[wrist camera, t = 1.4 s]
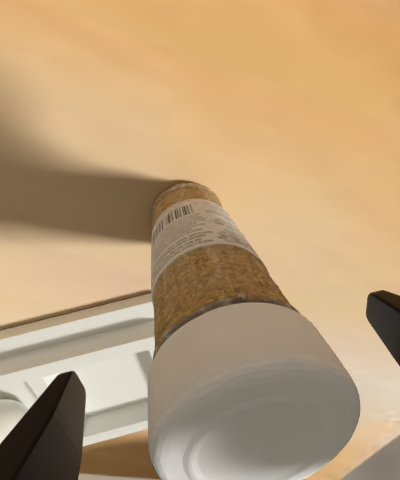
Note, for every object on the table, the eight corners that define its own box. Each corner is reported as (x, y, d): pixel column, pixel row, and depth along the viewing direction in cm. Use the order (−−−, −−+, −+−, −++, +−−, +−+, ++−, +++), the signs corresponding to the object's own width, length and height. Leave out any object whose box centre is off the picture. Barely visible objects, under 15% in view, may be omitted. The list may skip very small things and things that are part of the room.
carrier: (193, 397, 25) (198, 426, 23) (-10, 452, 24) (-27, 488, 22) (160, 290, 20) (161, 315, 17) (-104, 356, 19) (-141, 391, 16)
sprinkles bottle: (169, 258, 19) (201, 532, 7) (137, 198, 17) (97, 440, 5) (232, 230, 18) (381, 460, 7) (207, 166, 16) (356, 330, 4)
